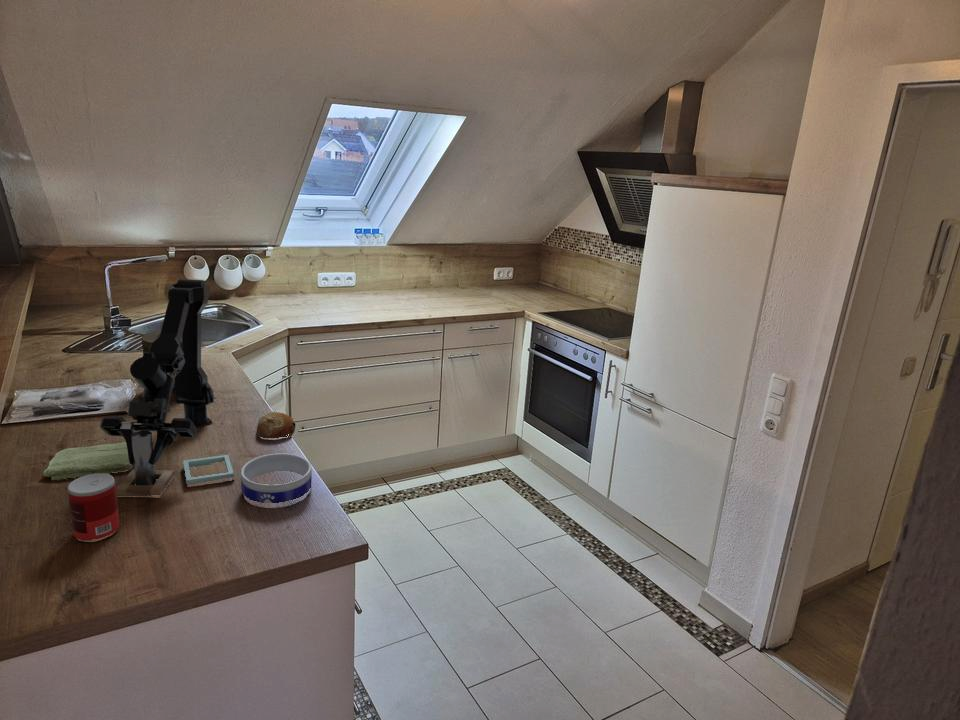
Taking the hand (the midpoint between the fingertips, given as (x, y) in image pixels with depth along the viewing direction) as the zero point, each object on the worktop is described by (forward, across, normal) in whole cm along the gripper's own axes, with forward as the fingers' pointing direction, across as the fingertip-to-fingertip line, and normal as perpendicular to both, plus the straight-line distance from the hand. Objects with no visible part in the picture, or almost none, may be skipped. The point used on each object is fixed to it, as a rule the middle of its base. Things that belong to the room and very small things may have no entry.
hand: (141, 464), depth 140 cm
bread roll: (-17, +22, +27) cm, 39 cm away
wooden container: (-36, -13, +46) cm, 60 cm away
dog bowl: (+4, +28, +6) cm, 29 cm away
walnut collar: (+4, 0, +6) cm, 7 cm away
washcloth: (-3, -16, +13) cm, 21 cm away
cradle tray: (-1, +12, +10) cm, 15 cm away
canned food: (+16, -3, -7) cm, 18 cm away
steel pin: (+4, 0, +6) cm, 7 cm away
